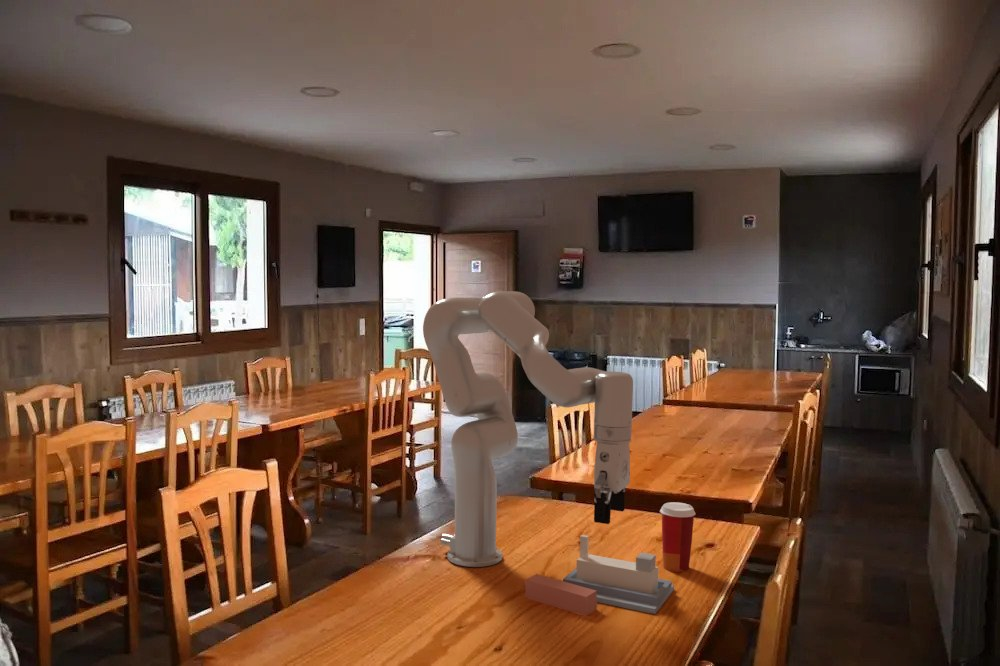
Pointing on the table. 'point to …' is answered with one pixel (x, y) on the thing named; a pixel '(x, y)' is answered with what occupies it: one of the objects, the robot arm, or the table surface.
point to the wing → (561, 594)
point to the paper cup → (677, 535)
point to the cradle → (626, 594)
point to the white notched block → (618, 570)
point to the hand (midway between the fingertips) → (609, 516)
